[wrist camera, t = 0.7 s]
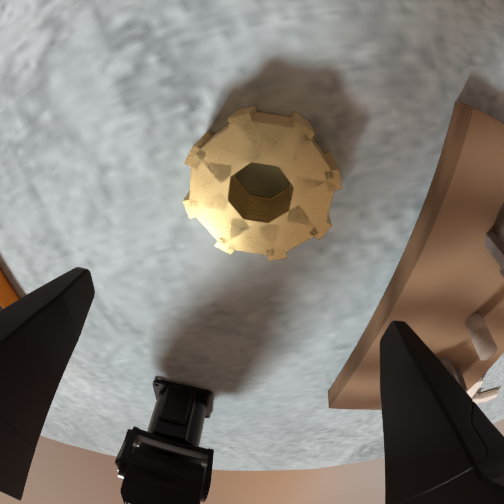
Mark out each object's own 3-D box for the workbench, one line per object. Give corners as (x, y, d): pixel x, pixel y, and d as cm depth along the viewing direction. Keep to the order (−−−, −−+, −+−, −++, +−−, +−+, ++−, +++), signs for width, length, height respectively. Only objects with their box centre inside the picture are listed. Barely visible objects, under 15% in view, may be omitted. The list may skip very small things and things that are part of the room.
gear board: (448, 392, 29) (458, 430, 24) (328, 391, 29) (330, 439, 25) (582, 180, 13) (622, 213, 9) (456, 101, 13) (512, 123, 9)
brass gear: (314, 239, 19) (318, 268, 17) (195, 220, 19) (181, 246, 17) (344, 122, 15) (356, 134, 13) (204, 99, 15) (187, 106, 13)
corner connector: (512, 362, 27) (516, 372, 25) (489, 394, 31) (492, 403, 30) (464, 376, 28) (467, 386, 27) (444, 407, 32) (446, 416, 31)
